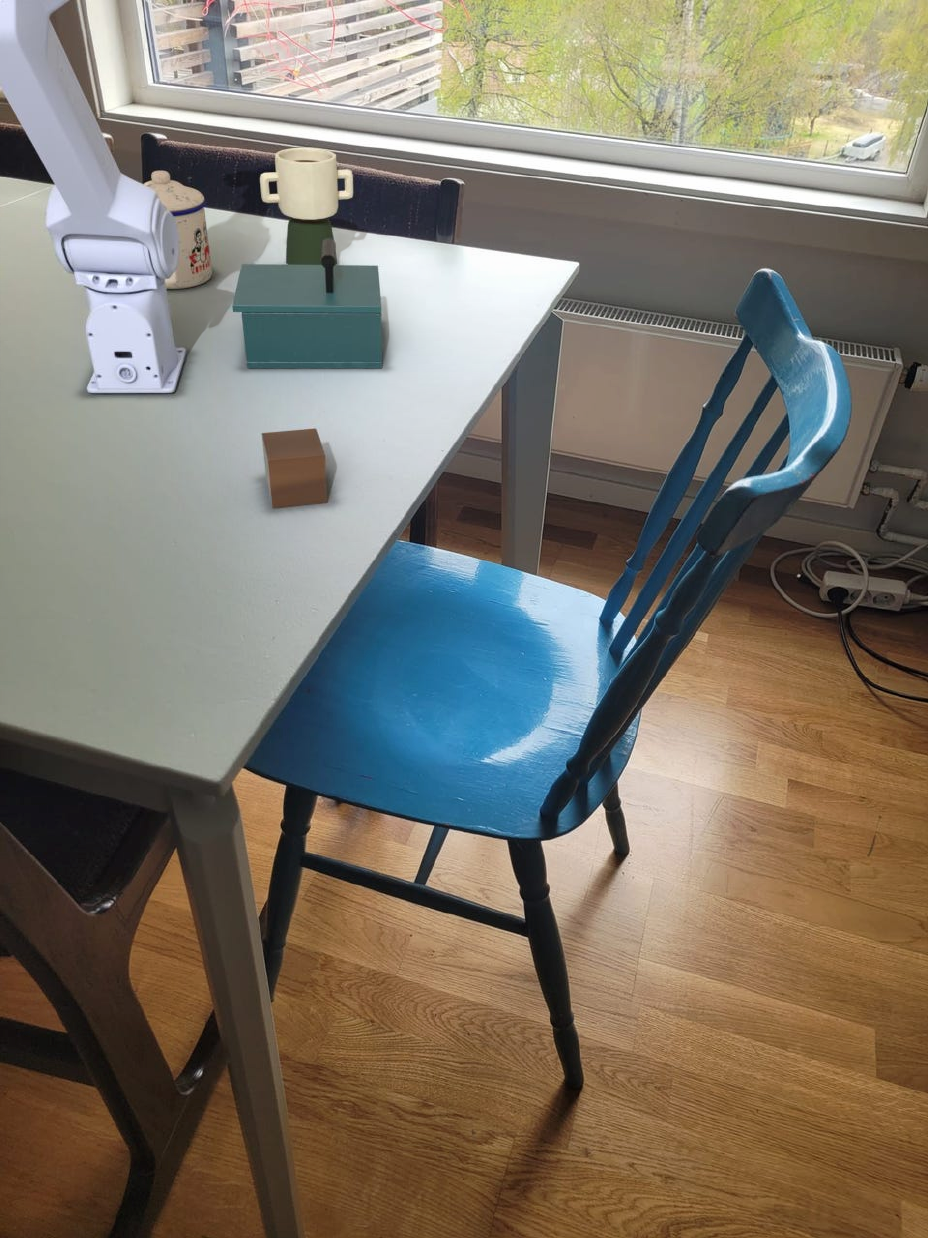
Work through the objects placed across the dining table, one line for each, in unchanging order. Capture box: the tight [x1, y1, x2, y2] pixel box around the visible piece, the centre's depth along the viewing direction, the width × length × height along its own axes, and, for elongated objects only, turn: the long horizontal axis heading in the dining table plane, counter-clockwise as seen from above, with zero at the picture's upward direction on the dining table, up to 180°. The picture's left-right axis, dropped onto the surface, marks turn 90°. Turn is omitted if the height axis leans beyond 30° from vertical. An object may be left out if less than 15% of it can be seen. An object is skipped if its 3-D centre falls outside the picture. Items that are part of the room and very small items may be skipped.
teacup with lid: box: [142, 170, 213, 290], centre depth 111 cm, size 12×9×12 cm
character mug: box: [259, 147, 354, 265], centre depth 114 cm, size 11×7×13 cm, turn 109°
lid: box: [231, 238, 382, 314], centre depth 96 cm, size 14×11×4 cm
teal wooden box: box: [241, 312, 383, 369], centre depth 99 cm, size 13×11×6 cm
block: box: [261, 427, 328, 509], centre depth 77 cm, size 4×4×4 cm
